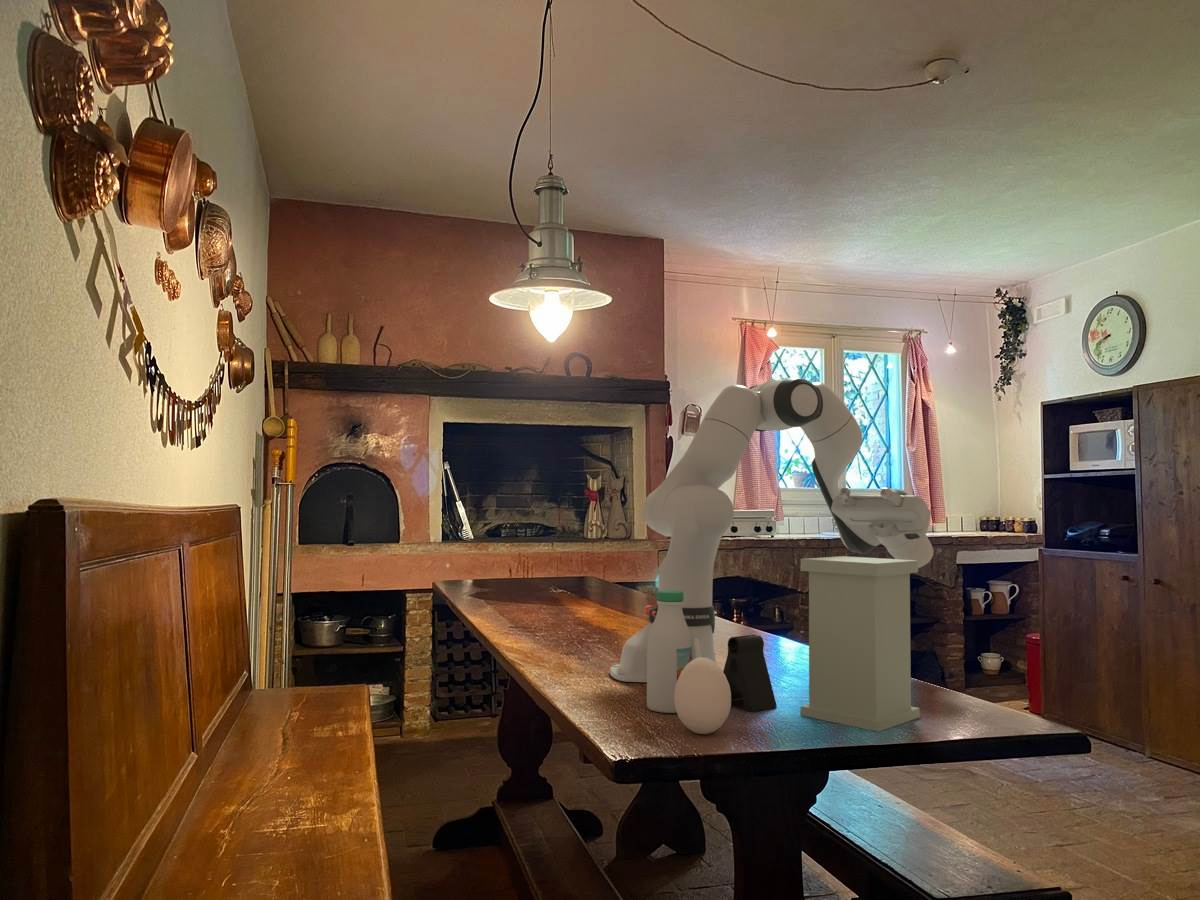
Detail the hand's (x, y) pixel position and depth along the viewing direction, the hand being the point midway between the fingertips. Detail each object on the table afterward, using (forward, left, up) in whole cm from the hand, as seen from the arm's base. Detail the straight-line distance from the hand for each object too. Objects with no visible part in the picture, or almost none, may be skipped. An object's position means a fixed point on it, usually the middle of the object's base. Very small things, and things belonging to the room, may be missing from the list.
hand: (863, 490), depth 181 cm
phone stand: (-32, -25, -39) cm, 56 cm away
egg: (-44, -43, -39) cm, 73 cm away
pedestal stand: (-15, -34, -38) cm, 53 cm away
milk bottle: (-46, -27, -39) cm, 66 cm away
